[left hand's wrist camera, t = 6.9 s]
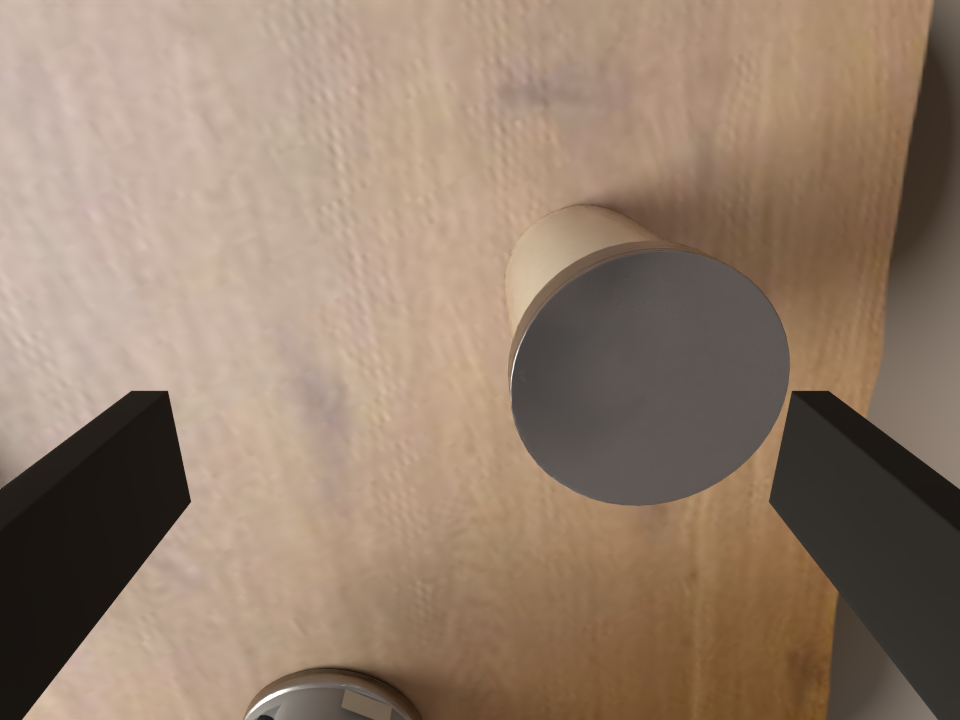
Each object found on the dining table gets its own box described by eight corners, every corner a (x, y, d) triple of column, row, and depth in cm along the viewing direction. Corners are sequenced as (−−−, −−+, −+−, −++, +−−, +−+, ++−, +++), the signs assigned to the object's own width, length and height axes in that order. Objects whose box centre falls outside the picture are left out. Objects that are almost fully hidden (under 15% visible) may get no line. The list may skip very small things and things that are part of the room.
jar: (513, 197, 34) (538, 245, 20) (671, 213, 35) (806, 273, 20) (496, 347, 38) (505, 480, 23) (640, 360, 38) (737, 501, 24)
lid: (525, 226, 21) (529, 235, 19) (798, 254, 22) (827, 266, 20) (494, 468, 25) (495, 494, 23) (729, 488, 25) (748, 516, 23)
